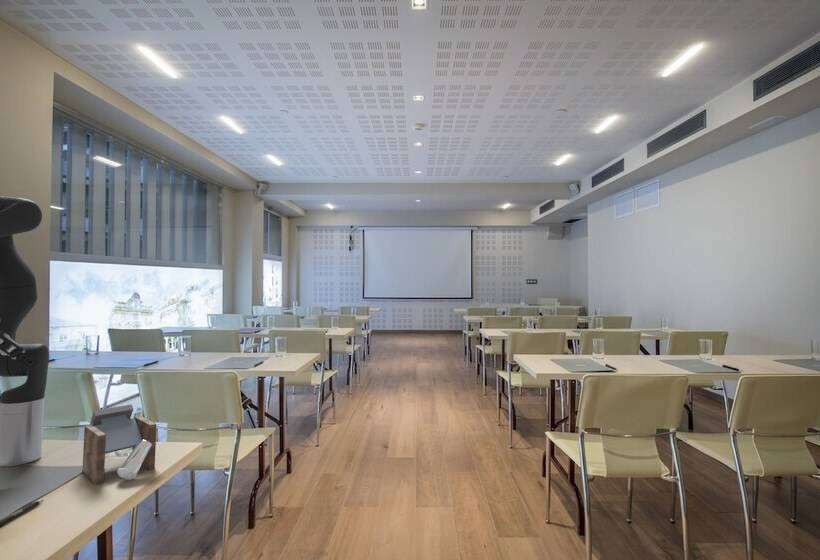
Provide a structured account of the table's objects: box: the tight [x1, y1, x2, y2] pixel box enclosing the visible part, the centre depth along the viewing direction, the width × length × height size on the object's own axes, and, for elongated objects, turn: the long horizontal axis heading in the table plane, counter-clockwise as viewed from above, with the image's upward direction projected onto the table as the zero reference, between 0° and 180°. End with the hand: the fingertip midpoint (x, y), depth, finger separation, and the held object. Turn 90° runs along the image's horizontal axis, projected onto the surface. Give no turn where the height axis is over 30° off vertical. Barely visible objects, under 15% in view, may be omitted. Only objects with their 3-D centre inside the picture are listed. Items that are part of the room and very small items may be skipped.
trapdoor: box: [89, 404, 142, 455], centre depth 112 cm, size 13×9×6 cm
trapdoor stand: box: [81, 415, 157, 485], centre depth 109 cm, size 13×13×12 cm
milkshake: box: [116, 440, 152, 481], centre depth 104 cm, size 5×5×10 cm
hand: (31, 363), depth 97 cm, fingers open, 8 cm apart
